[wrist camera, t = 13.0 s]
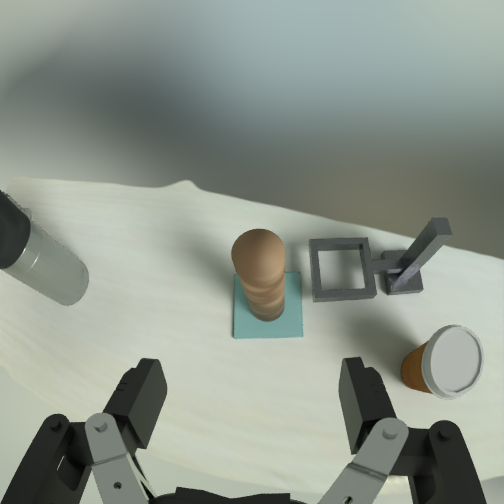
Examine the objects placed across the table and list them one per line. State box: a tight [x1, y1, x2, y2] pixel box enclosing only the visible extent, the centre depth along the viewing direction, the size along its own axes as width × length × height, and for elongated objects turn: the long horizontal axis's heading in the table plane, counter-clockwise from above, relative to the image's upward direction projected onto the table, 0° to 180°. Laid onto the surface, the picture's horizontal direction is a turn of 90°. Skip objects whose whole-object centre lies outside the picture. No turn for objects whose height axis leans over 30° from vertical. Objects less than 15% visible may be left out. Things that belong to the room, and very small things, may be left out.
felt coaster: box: [234, 272, 303, 339], centre depth 44 cm, size 10×10×1 cm
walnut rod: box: [231, 229, 285, 322], centre depth 36 cm, size 5×5×18 cm
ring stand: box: [309, 218, 452, 302], centre depth 38 cm, size 18×9×16 cm, turn 90°
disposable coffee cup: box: [401, 325, 484, 400], centre depth 32 cm, size 10×10×12 cm
